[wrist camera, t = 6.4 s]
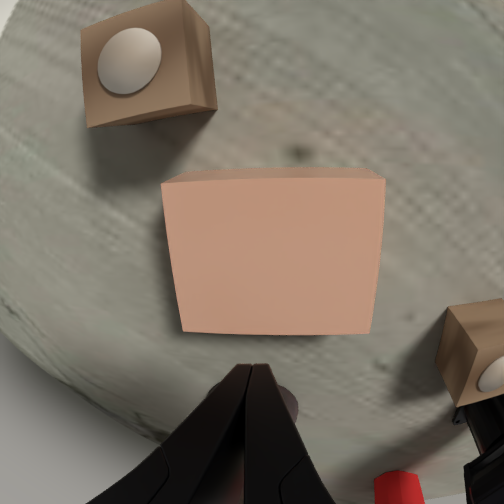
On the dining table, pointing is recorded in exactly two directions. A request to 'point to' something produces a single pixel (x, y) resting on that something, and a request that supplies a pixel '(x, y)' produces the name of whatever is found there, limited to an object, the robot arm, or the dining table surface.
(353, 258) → the terracotta slab
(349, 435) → the dining table surface
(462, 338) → the tagged walnut block
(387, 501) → the french fries
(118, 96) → the tagged walnut block
